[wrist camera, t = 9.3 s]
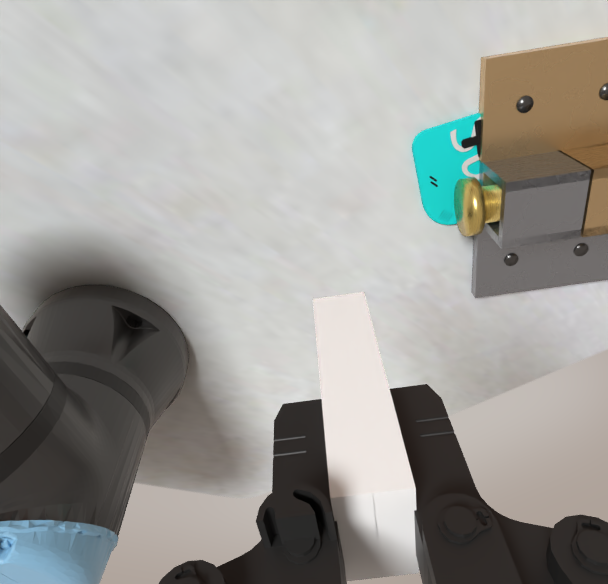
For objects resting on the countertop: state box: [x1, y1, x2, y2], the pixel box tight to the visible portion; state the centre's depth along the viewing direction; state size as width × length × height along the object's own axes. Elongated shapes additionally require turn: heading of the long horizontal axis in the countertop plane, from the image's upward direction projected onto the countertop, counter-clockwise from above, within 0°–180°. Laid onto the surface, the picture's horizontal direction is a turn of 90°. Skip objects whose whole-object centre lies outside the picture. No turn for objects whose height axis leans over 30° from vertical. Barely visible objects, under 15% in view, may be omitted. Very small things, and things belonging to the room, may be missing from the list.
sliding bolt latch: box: [472, 37, 608, 298], centre depth 37 cm, size 18×20×6 cm
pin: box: [454, 177, 502, 236], centre depth 37 cm, size 20×4×4 cm, turn 98°
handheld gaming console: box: [412, 113, 481, 225], centre depth 39 cm, size 8×1×15 cm
